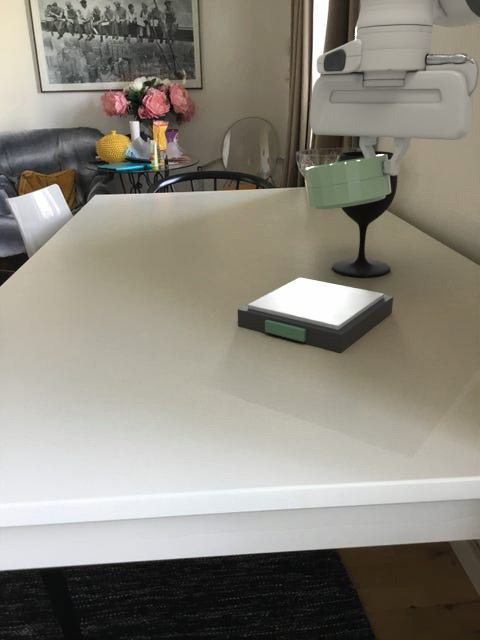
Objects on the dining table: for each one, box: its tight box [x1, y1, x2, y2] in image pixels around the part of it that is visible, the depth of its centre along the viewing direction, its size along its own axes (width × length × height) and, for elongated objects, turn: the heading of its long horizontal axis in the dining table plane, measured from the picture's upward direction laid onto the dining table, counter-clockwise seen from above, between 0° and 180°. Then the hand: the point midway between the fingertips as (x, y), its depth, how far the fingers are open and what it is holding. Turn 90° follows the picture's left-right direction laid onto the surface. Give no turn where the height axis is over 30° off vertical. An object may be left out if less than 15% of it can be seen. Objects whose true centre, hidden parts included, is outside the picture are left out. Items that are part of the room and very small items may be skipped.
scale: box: [237, 277, 394, 354], centre depth 80 cm, size 16×17×3 cm
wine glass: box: [331, 150, 398, 279], centre depth 98 cm, size 10×10×20 cm
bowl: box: [302, 154, 391, 210], centre depth 76 cm, size 11×11×6 cm
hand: (381, 174), depth 73 cm, fingers closed on bowl
